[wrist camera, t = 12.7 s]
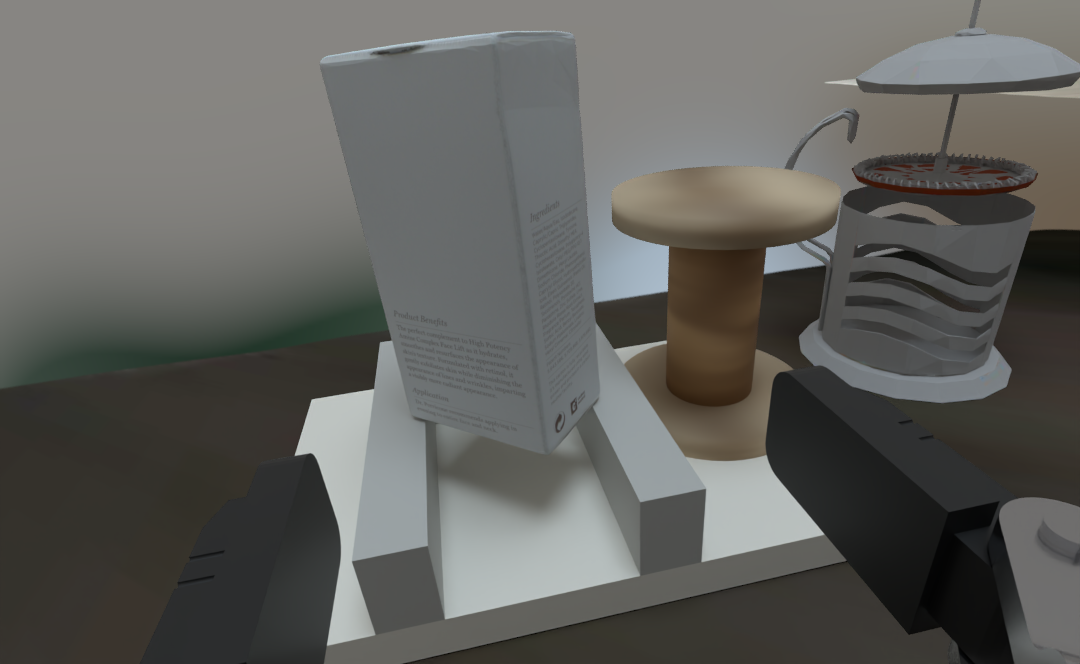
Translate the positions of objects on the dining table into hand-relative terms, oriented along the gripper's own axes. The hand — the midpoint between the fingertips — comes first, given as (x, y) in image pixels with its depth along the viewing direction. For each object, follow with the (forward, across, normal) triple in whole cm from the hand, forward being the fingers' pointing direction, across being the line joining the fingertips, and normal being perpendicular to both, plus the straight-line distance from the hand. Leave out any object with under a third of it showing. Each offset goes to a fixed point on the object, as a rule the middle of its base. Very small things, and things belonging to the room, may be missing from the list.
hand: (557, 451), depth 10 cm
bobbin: (+12, -9, +8) cm, 17 cm away
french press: (+16, -21, +10) cm, 28 cm away
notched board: (+11, -2, +10) cm, 15 cm away
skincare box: (+10, 0, +6) cm, 11 cm away
